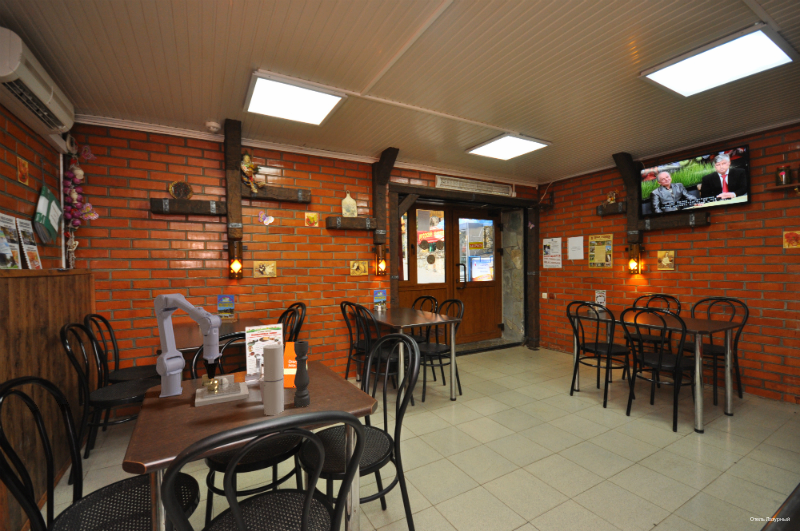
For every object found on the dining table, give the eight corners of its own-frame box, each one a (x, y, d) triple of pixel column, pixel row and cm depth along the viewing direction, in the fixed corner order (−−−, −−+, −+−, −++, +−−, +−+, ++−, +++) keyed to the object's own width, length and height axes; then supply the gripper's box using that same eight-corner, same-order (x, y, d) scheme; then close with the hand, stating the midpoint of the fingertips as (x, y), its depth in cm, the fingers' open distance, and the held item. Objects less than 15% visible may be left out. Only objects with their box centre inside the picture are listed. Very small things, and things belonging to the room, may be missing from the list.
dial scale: (196, 393, 160) (196, 379, 160) (245, 385, 169) (245, 372, 169) (195, 406, 144) (194, 391, 144) (249, 397, 153) (249, 383, 153)
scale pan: (204, 389, 159) (204, 387, 159) (239, 384, 165) (239, 382, 165) (203, 398, 148) (203, 395, 148) (240, 392, 154) (240, 389, 154)
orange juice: (302, 387, 166) (302, 343, 166) (283, 387, 166) (283, 343, 166) (307, 381, 174) (306, 340, 174) (289, 382, 174) (288, 340, 174)
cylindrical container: (272, 417, 133) (271, 349, 133) (260, 413, 137) (259, 347, 137) (287, 410, 139) (287, 345, 139) (275, 406, 143) (274, 343, 143)
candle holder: (295, 402, 147) (294, 340, 148) (311, 401, 148) (310, 340, 148) (292, 408, 141) (291, 344, 141) (308, 407, 142) (307, 343, 142)
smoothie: (269, 405, 144) (269, 370, 144) (255, 404, 145) (254, 369, 146) (278, 399, 150) (277, 366, 151) (264, 398, 152) (263, 365, 152)
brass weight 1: (199, 384, 150) (200, 375, 151) (210, 382, 154) (210, 373, 154) (205, 386, 148) (205, 376, 148) (215, 384, 152) (216, 374, 152)
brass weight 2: (206, 389, 156) (206, 379, 156) (218, 387, 158) (218, 377, 158) (207, 391, 152) (207, 382, 152) (219, 389, 155) (218, 380, 155)
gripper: (221, 346, 147) (222, 379, 147) (221, 340, 160) (222, 371, 160) (202, 348, 144) (202, 382, 144) (203, 342, 157) (203, 373, 157)
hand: (211, 376), depth 152 cm, fingers open, 5 cm apart
